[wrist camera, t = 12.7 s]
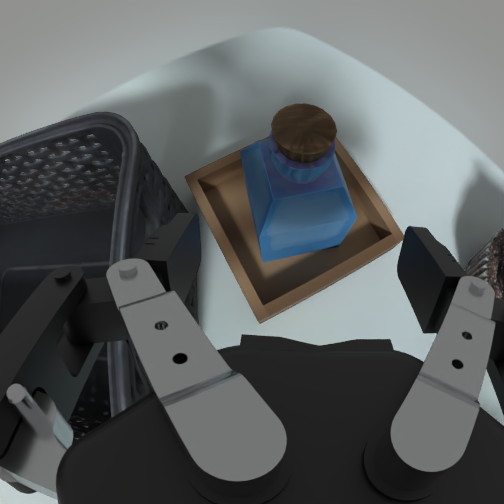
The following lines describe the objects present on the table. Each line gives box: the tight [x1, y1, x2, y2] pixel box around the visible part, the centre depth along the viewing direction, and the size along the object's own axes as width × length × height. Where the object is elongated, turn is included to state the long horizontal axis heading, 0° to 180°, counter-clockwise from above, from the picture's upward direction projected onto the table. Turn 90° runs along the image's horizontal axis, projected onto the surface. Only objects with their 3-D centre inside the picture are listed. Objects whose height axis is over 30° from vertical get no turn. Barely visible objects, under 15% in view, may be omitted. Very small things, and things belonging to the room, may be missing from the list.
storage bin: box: [0, 112, 197, 444], centre depth 20 cm, size 29×19×13 cm
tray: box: [185, 137, 404, 323], centre depth 25 cm, size 13×13×3 cm
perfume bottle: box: [240, 104, 357, 262], centre depth 20 cm, size 6×6×12 cm
